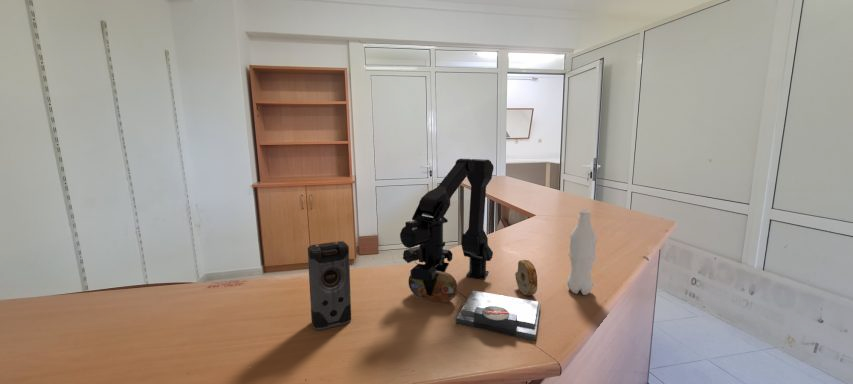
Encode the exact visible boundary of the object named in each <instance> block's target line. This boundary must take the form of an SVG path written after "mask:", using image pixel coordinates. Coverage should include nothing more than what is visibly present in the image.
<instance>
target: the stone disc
mask: <svg viewBox="0 0 853 384" xmlns="http://www.w3.org/2000/svg"><path fill="white" fill-rule="evenodd" d="M514 276H515V281H516V284H517V288H518V289H519V290H520V292H521V294H522V295H524V296H532V295H536V293H537V291H538V275H537V269H536V267H535V265H534V263H532V261H531V260H527V259H521V260H520V259H519V261H518V263H517V271H516V272H515V275H514Z"/></svg>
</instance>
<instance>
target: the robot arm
mask: <svg viewBox="0 0 853 384" xmlns="http://www.w3.org/2000/svg"><path fill="white" fill-rule="evenodd" d="M494 167H495V166H494V164H493V163H492V161H491V159H483V158H482V159H478V158H459V159H457V160H456V161H455V164H454V166H453V167H452V168H451V169H450V171H449V172H447V175H446V176H445V177H444V178H443V179H442V181H441V182H440V183H439V184H438V185H437V187H436V188H434V189H431V190H429V191H427V192H426V193H425V194H424V195H423V196H422V197H421V198H420V199H419V202H418V206H417V207H416V209H415V211H414V214H413V215H412V217H411V220H412V221H411V220H410V221H405V223H404V224H405V226H403V227H402V229H401V230H400V233H399V239H400V241H401V243H402V245H403V247H406V248H407V249H405V250H403V253H402V259H403V260H404V261H405V262H406V263H407V264H410V263H411V262H415V261H418V262H419V263H416V265H415V266H414V267H413V268H411V269H410V275H409V277H411V278H414V279H420V280H422V281H423V283H424V286H425V289H426V292H427V295H429V296H431V295H432V292H433V290H434V287H435V284H436V281H437V278H438V275H439V274H436V271H441V272H446V271H447V269H448V267H449V264H450V263H449V262H451V261H452V260H453V252H452V251H451V250H450V249H444V247H445V246H446V242H445V241H444V224H446V223H448V222H449V221H448V218H446V217H445V215H446V214H447V212H448V210H449V208H450V206H451V199H452V197H453V195H454V193H456V191H457V190H458V189H459V187H460V185H461V184H462V183H463V182H464V181H465V180H466V178H467V180H468V182H469V183H468V184H469V185H470V197H469V214H468V228H467V229H466V231H465V233H462V235H461V243H460V246H461V249H462V250H461V251H462V253H463V257H465V258H466V257H467V258H469V264H468V265H469V267H468V269H469V270H468V272H467V273H466V275H465V276H466V277H469V278H473V279H474V278H476V279H483V280H485V279H486V278H487V276H488V274H489V272H490V271H489V270H487V262H491V260H492V258H493V256H494V252H493V250H492V249H491V247H490V246H489V244H488V243H489V240H488V239H489V238H488V236H487V233H486V231H485V230H484V228H485V227H484V226H485V225H484V224H485V211H486V194H487V186H488V184H490V182H491V180H492V178H493V172H494ZM445 259H447V262H445ZM423 263H424V264H423Z"/></svg>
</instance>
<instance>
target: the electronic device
mask: <svg viewBox="0 0 853 384" xmlns="http://www.w3.org/2000/svg"><path fill="white" fill-rule="evenodd" d="M349 249H350V246H349V245H348V244H347V243H346V242H345V241H343V240H342V241H339V240H338V241H331V242H326V243H325V242H323V243H319V244H316V243H315V244H310V245H309V246H308V247H307V259H308V261H307V263H308V278H309V279H308V281H309V299H310V313H311V318H310V319H311V325H312V328H313V329H315V331H322V330H326V329H330V328H333V327H339V326H343V325H346V324H349V323H350V322H351V320H352V305H351V303H352V302H351V271H350V268H351V266H350V250H349Z"/></svg>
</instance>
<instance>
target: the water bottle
mask: <svg viewBox="0 0 853 384" xmlns="http://www.w3.org/2000/svg"><path fill="white" fill-rule="evenodd" d="M577 220H578V222H577V224H576V225H575V227H574V229H573V230H572V231H571V233H570V236H569V239H570V241H569V253H568V256H569V258H570V259H569V260H570V264H571V269H570V274H569V275H568V278H567V280H566V281H567V282H566V283H567V287H568V289H569V290H570V292H571V293H573V294H575V295H577V294H579V292H581V295H583V296H587V295H589V294H590V292H591V291H592V289H593V288H594V282H593V279H592V267H593V265H594V263H595V261H596V244H597V235H596V233H595V230H594V229H593V227H592V224H591V220H592V218H591V211H590V210H581V209H580V210H579V213H578V216H577Z"/></svg>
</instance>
